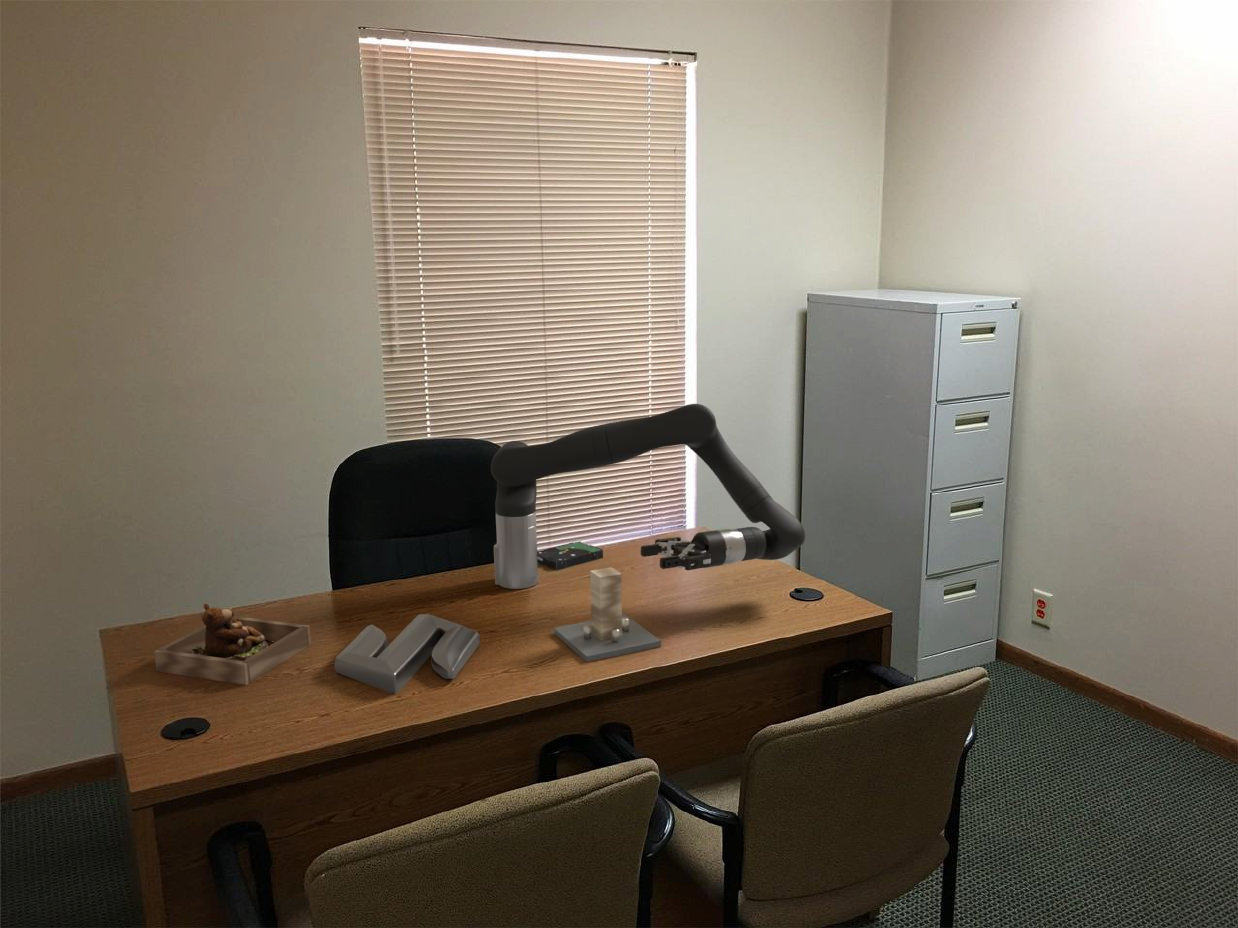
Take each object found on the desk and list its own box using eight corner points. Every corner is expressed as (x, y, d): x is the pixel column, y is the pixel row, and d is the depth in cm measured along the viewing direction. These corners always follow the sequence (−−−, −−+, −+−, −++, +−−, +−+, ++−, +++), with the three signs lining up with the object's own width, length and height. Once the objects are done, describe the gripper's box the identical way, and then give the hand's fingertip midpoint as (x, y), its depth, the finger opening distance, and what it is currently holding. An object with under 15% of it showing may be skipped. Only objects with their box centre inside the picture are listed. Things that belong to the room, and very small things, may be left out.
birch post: (601, 640, 196) (600, 577, 193) (591, 632, 200) (590, 570, 197) (622, 636, 198) (621, 573, 195) (612, 628, 202) (611, 567, 199)
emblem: (499, 649, 183) (343, 676, 172) (500, 676, 184) (346, 705, 173) (461, 600, 208) (323, 621, 197) (462, 624, 209) (325, 647, 198)
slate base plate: (586, 662, 189) (586, 644, 188) (554, 633, 203) (553, 616, 202) (661, 646, 195) (660, 628, 195) (624, 619, 209) (624, 602, 209)
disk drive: (557, 573, 241) (604, 559, 251) (556, 562, 241) (603, 548, 250) (532, 563, 249) (578, 549, 258) (531, 552, 248) (578, 539, 258)
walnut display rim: (156, 671, 187) (154, 651, 186) (227, 632, 205) (225, 614, 204) (246, 685, 181) (244, 664, 180) (311, 644, 199) (309, 625, 198)
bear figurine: (278, 662, 191) (272, 602, 188) (194, 680, 184) (187, 617, 181) (264, 638, 203) (259, 581, 200) (185, 654, 195) (178, 595, 193)
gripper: (702, 522, 216) (635, 530, 209) (737, 539, 203) (667, 549, 196) (701, 555, 217) (634, 564, 210) (736, 574, 205) (666, 585, 198)
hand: (650, 557), depth 203 cm, fingers open, 8 cm apart
